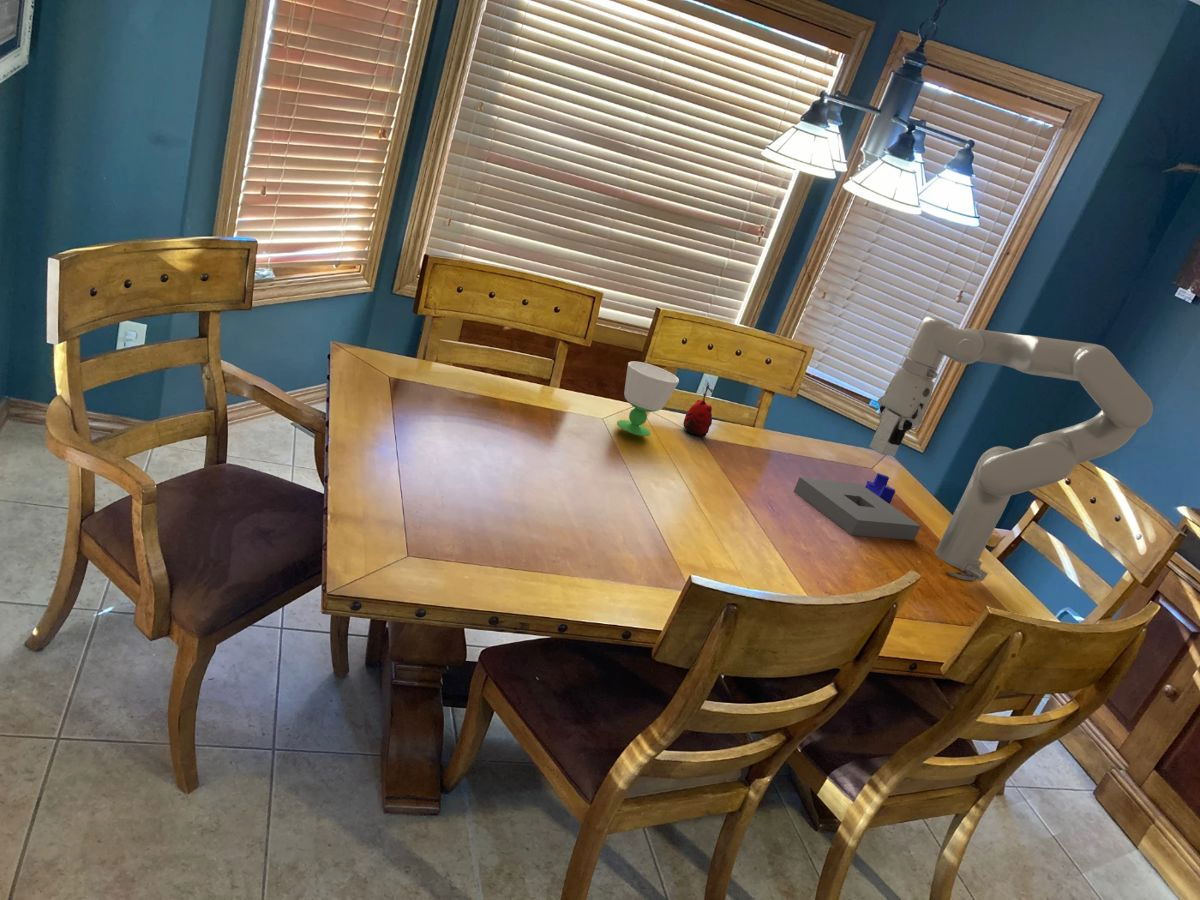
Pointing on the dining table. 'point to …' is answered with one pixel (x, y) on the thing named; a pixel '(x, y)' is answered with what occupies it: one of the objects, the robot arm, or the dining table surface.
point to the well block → (856, 509)
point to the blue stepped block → (881, 488)
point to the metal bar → (886, 434)
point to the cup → (646, 394)
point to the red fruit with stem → (699, 417)
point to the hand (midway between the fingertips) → (887, 438)
